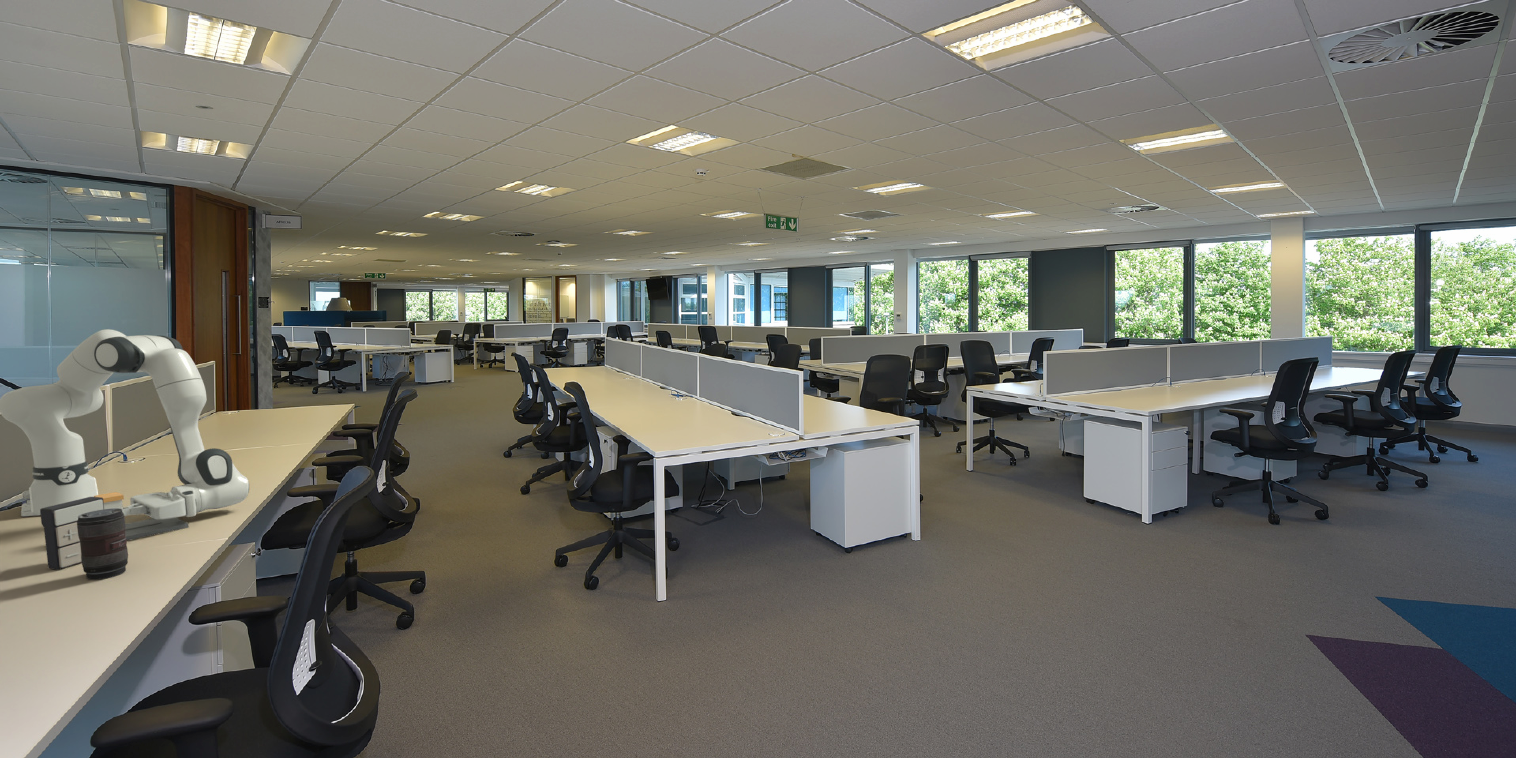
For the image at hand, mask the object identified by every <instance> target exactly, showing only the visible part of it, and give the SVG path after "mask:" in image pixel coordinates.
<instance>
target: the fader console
mask: <svg viewBox="0 0 1516 758" xmlns="http://www.w3.org/2000/svg"><path fill="white" fill-rule="evenodd" d="M125 525H126V531H125V536H126V540H127V541H132V540H136V539H141V538H140V537H142V538H145V537H146V538H147V537H150V535H151V536H155V535H158V533H160V534H163V533H169V532H173V530H174V531H179V530H183V529H187V528H189V527H190V526H189V523H188V522H186V521H184V520H182V519H180V518H179V517H176V518H169V519H159V520H157V519H154V518H148V519H143V520H138V521H133V522H128V523H125ZM154 534H155V535H154Z"/></svg>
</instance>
